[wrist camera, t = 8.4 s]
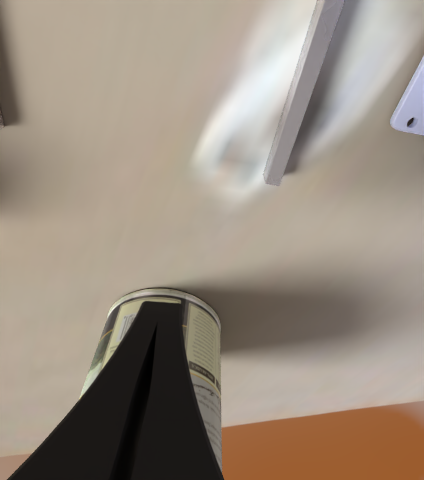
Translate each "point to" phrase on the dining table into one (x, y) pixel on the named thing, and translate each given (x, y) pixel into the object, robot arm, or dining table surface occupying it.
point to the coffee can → (196, 345)
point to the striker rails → (299, 86)
